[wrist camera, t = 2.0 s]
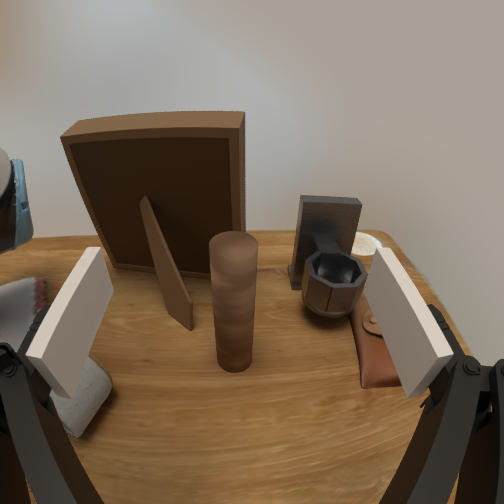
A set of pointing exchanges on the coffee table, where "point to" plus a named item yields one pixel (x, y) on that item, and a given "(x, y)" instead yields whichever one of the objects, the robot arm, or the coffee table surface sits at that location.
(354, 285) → the bracket
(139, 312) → the coffee table surface
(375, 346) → the sunglasses case
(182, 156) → the photo frame
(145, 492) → the coffee table surface
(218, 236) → the brown wooden dowel
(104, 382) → the ceramic mug
